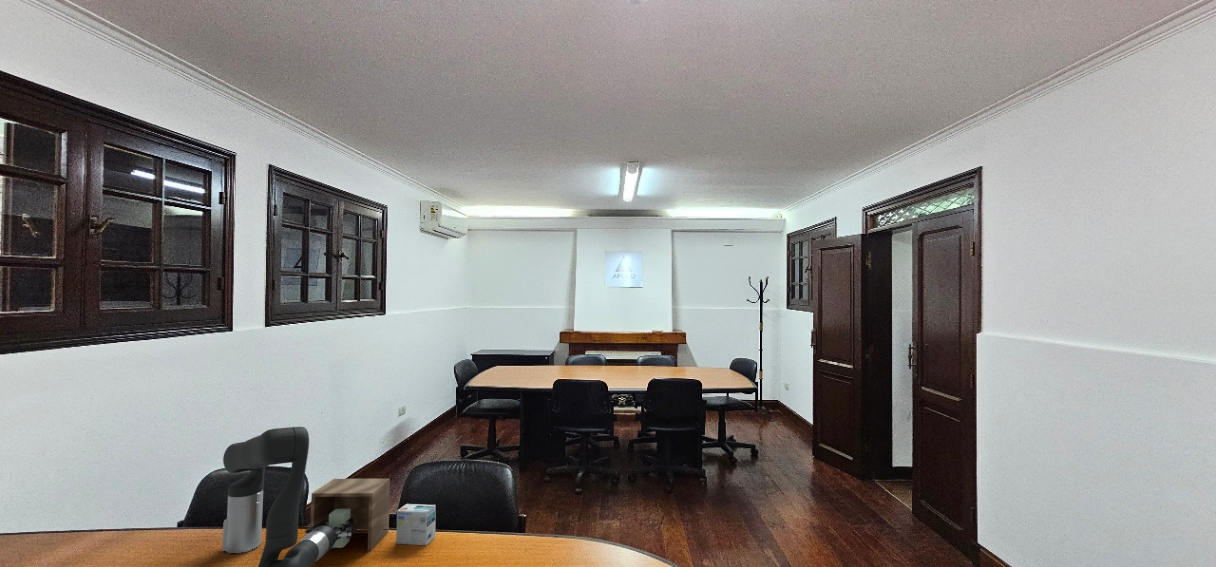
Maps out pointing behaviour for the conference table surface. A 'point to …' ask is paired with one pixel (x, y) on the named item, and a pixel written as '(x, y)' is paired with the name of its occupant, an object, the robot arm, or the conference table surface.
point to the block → (337, 518)
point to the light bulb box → (415, 524)
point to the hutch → (355, 505)
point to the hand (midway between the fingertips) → (343, 520)
